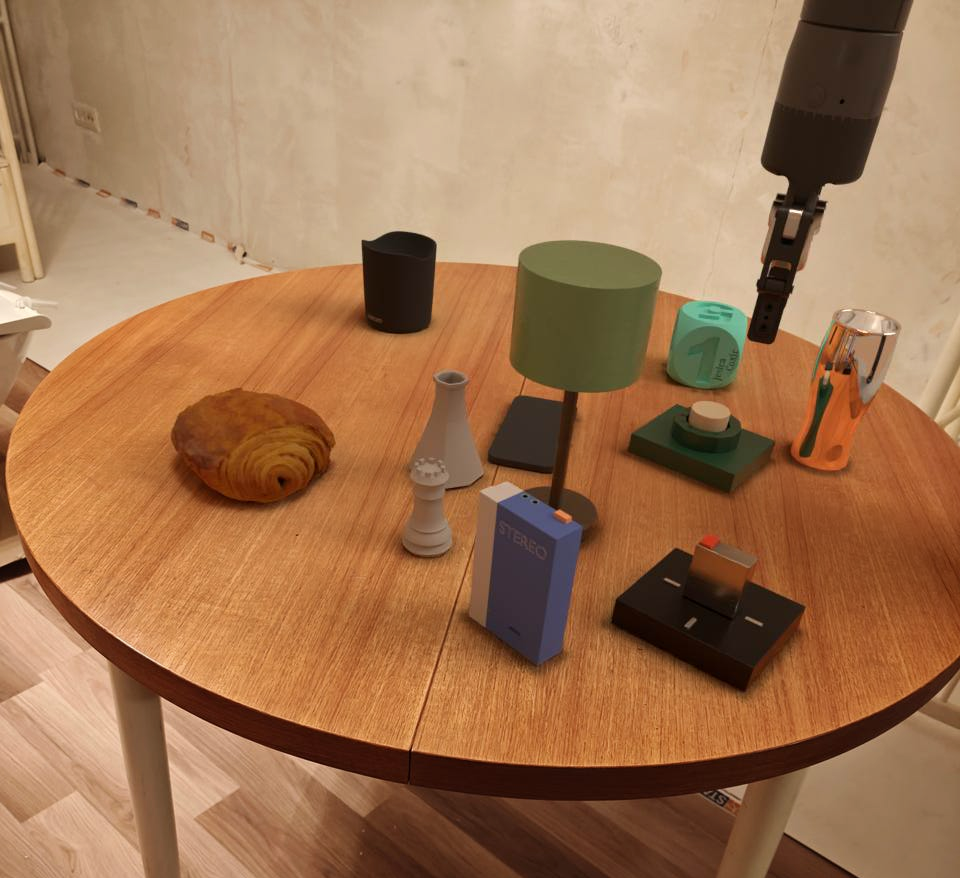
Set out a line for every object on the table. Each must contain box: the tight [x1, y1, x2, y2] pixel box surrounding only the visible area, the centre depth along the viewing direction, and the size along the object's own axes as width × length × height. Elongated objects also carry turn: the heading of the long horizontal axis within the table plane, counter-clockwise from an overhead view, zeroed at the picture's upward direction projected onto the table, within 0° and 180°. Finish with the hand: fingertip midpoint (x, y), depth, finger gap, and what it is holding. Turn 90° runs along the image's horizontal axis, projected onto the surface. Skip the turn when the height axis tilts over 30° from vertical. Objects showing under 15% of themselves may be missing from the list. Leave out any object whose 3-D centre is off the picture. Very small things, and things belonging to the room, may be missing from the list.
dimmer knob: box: [682, 533, 760, 619], centre depth 69 cm, size 4×2×5 cm, turn 52°
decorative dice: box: [666, 300, 748, 390], centre depth 108 cm, size 8×8×8 cm
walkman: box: [468, 480, 583, 667], centre depth 66 cm, size 8×3×12 cm, turn 43°
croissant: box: [170, 387, 337, 504], centre depth 84 cm, size 14×16×8 cm
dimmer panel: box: [610, 547, 807, 693], centre depth 72 cm, size 12×10×3 cm
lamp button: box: [688, 400, 731, 432], centre depth 92 cm, size 4×4×2 cm
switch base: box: [627, 403, 777, 494], centre depth 93 cm, size 12×10×4 cm
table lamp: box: [508, 239, 663, 544], centre depth 75 cm, size 11×11×24 cm
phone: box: [487, 394, 578, 474], centre depth 95 cm, size 7×1×15 cm
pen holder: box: [360, 230, 438, 334], centre depth 114 cm, size 9×9×10 cm
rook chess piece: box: [401, 458, 453, 558], centre depth 76 cm, size 4×4×8 cm
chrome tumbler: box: [789, 308, 902, 472], centre depth 91 cm, size 7×7×15 cm
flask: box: [407, 369, 485, 490], centre depth 85 cm, size 7×7×10 cm
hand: (766, 323), depth 74 cm, fingers open, 8 cm apart
